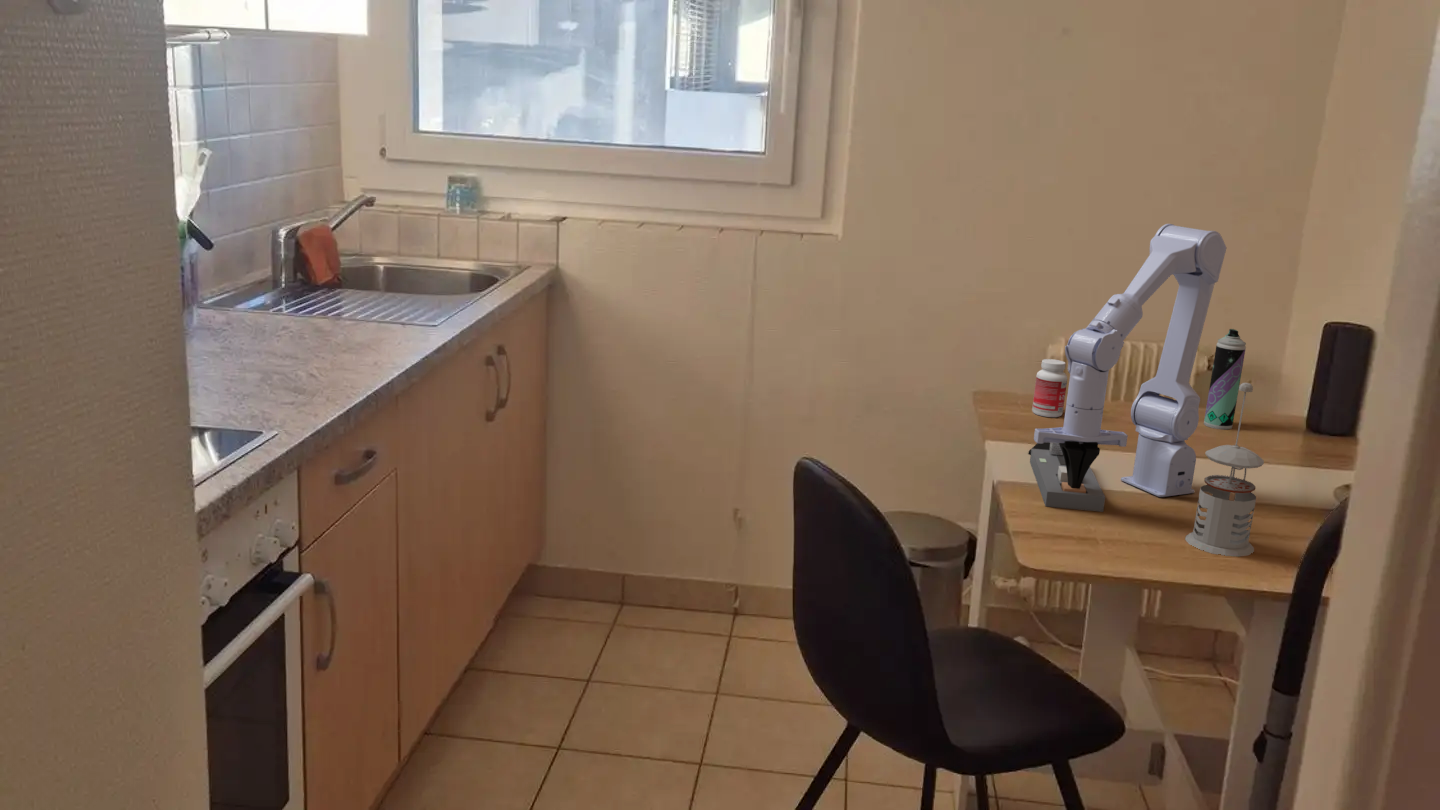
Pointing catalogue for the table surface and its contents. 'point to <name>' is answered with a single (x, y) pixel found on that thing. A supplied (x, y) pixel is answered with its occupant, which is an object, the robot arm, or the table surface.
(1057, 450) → the toggle knob
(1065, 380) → the pill bottle
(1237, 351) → the spray can
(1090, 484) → the switch panel
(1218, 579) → the table surface
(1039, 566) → the table surface
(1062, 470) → the grey button
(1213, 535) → the french press
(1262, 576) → the table surface
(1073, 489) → the orange button
